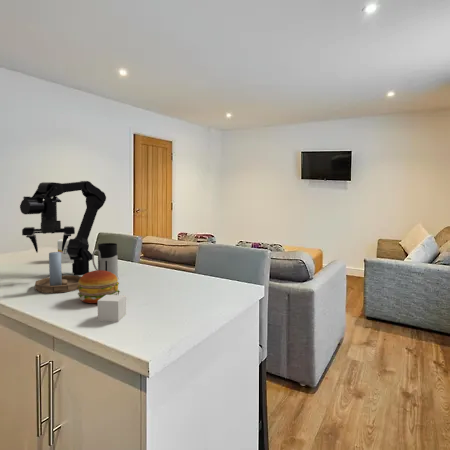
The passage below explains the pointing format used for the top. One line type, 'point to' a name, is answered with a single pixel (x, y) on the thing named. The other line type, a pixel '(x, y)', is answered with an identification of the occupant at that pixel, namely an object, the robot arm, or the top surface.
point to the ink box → (64, 252)
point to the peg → (55, 269)
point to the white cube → (112, 308)
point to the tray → (67, 285)
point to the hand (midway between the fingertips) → (49, 251)
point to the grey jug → (107, 258)
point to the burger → (97, 285)
